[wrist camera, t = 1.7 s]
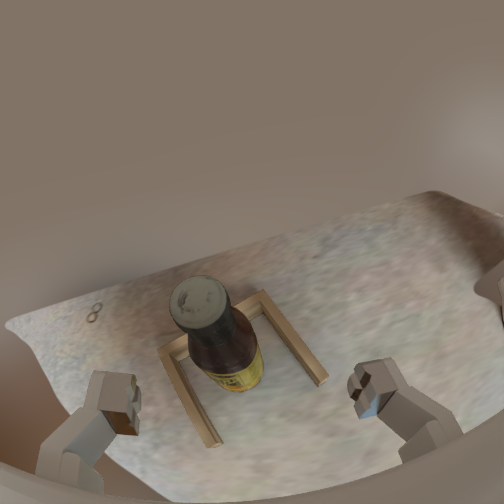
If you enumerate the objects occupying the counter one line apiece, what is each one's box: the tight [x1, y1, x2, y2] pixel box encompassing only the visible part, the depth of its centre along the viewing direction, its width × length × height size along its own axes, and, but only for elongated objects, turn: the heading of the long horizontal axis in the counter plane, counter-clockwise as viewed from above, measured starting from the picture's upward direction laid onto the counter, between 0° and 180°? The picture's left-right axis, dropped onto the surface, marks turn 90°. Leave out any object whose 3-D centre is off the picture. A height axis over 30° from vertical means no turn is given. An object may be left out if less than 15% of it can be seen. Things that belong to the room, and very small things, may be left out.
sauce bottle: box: [170, 275, 264, 392], centre depth 27 cm, size 6×6×20 cm
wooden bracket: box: [157, 289, 329, 448], centre depth 33 cm, size 16×14×4 cm
